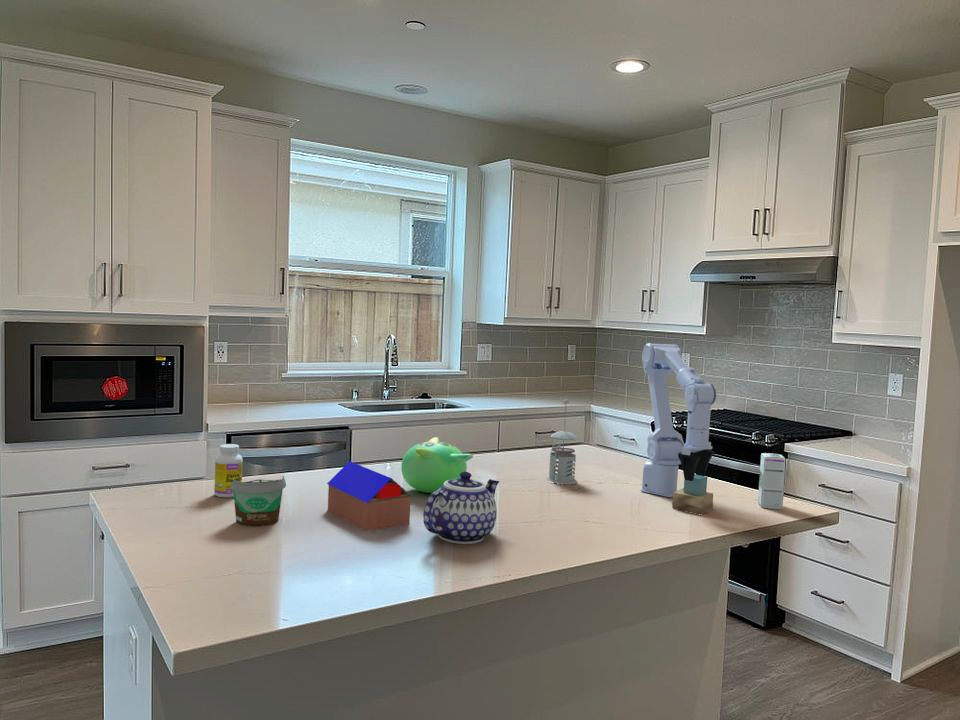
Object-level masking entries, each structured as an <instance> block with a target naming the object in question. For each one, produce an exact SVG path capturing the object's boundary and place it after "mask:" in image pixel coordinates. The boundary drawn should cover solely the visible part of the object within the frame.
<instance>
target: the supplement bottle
mask: <svg viewBox="0 0 960 720" xmlns="http://www.w3.org/2000/svg"><path fill="white" fill-rule="evenodd" d="M239 451H240V445H239V444H236V443H224V444H220V445H219V453H220V454H218V455H217V456H216V458H215V460H214V462H215V463H214V466H215V467H214V486H213V488H214V491H213V492H214V495H215V496H216V497H218V498H222V499H230V498H234V491H233V490H232V489H231V488H230V486H231V482H233V479H234V480H236V481H239V482H243V462H244V460H243V456H242V455H241V454H239Z"/></svg>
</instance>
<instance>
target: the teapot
mask: <svg viewBox="0 0 960 720" xmlns="http://www.w3.org/2000/svg"><path fill="white" fill-rule="evenodd" d="M460 477H461V478H458V479H452V480H448V481H445V482H444V485H443V486H442V487H440V488H439V489H438V490H437V491H434V492H433V493H430V495H429V496H428V498H427V500H426V502H425V505H424V508H423V525H424V527H425V529H426V530H427V531H428V532H430V533H431V534H436V535H438V537H439V538H440V539H441V540H442V541H445V542H448V543H452V544H458V545H472V544H477V543H481V542H482V541H483V540H484V538H485V537H487V536H488V535H490V534H491V532H492V531H493V529H494V528H495V526H496V525H495V524H496V521H497V513H498V512H497V511H498V509H497V503H496V498H495V496H496V489H497V486H498V485H499V483H500V481H499V480H498V479H492V478H489V479H488V480H487V482H486V484H485V483H484V482H482V481H479V480H475V479H471V477H472V474H471V472H469V471H466V472H461V473H460Z"/></svg>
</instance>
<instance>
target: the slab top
mask: <svg viewBox="0 0 960 720" xmlns="http://www.w3.org/2000/svg"><path fill="white" fill-rule="evenodd" d="M683 492H684V487H683V488H681V489H679V490H678V489H677V491H676V492H673V497H672V503H673V502H677V503H681V504H686V505H691V506H695V507H700V508H702V507H704V506H706V505H708V504H710V503H712V502H713V503H714V493H713V492H708V491H706V494H703V495H701V496H697V495H692V494H688V493H683Z"/></svg>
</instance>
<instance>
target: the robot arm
mask: <svg viewBox="0 0 960 720" xmlns="http://www.w3.org/2000/svg"><path fill="white" fill-rule="evenodd" d="M641 359H642V366H643V372H644V374H646V375H647V379H648V380H647V381H648V386H649V394H650V401H651V409H652V415H653V422H654V431H653V432H652V433H650V434H649V436H648V437H647V448H646V452H647V458H649V460H647V461H646V462H645V463H644V465H643V470H642V481H641V482H642V483H641V485H642V486H641V489H640V491H641V492H642V493H648V494H652V495H656V496H657V495H658V496H662V497H666V498H673V492H676V491H678V478H679V465H681V467H682V473H683V479H685V480H688V481H693V479H694V475H701V476H706V472H707V469H708V466H709V463H710V461H711V459H712V457H713V456H714V454H715V451H714V450H712V449H713V445H712V442H711V441H709V439H710V438H709V437H710V423H711V413H712V412H711V410H712V409H711V408H712V405H714V404H715V402H716V400H717V390H716V387H715V385H714V383H712V382H707V381H706V382H705V381H704V380H703V378H702V377H701V376H700V375H699V373H698V372H697V371H696V369H695V368H694V367H689V366H687V364H686V363H685V361H684V360H683V358H682V350H681V348H680V347H679V346H678V345H677V343H672V344H669V343H650V342H647V343H645V345H644V347H643V350H642V353H641ZM673 372H674V374H675V375H676V377H675V380H676V382H677V384H678V385H679V386H680V388H681V389H682V390H683V391H684V400H685V402H686V406H685V407H686V410H687V420H686V421H687V423H686V435H685V436H686V438H685V442H684V440H683V435H682V434H681V433H679V432H678V431H677V430H675V428H674V426H673V425H674V424H673V418H672V410H671V406H670V398H669V392H668V386H667V385H668V384H667V379H666V377H667V376H669V375H671V374H673Z"/></svg>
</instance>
